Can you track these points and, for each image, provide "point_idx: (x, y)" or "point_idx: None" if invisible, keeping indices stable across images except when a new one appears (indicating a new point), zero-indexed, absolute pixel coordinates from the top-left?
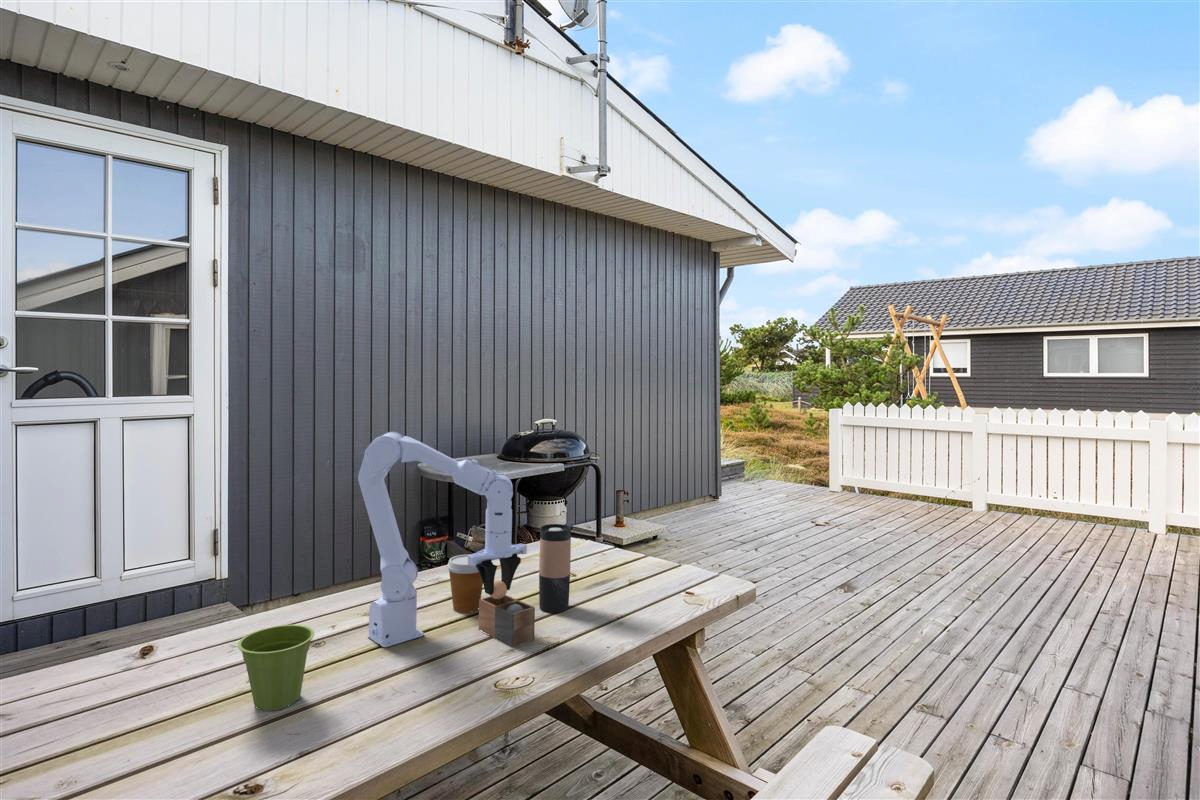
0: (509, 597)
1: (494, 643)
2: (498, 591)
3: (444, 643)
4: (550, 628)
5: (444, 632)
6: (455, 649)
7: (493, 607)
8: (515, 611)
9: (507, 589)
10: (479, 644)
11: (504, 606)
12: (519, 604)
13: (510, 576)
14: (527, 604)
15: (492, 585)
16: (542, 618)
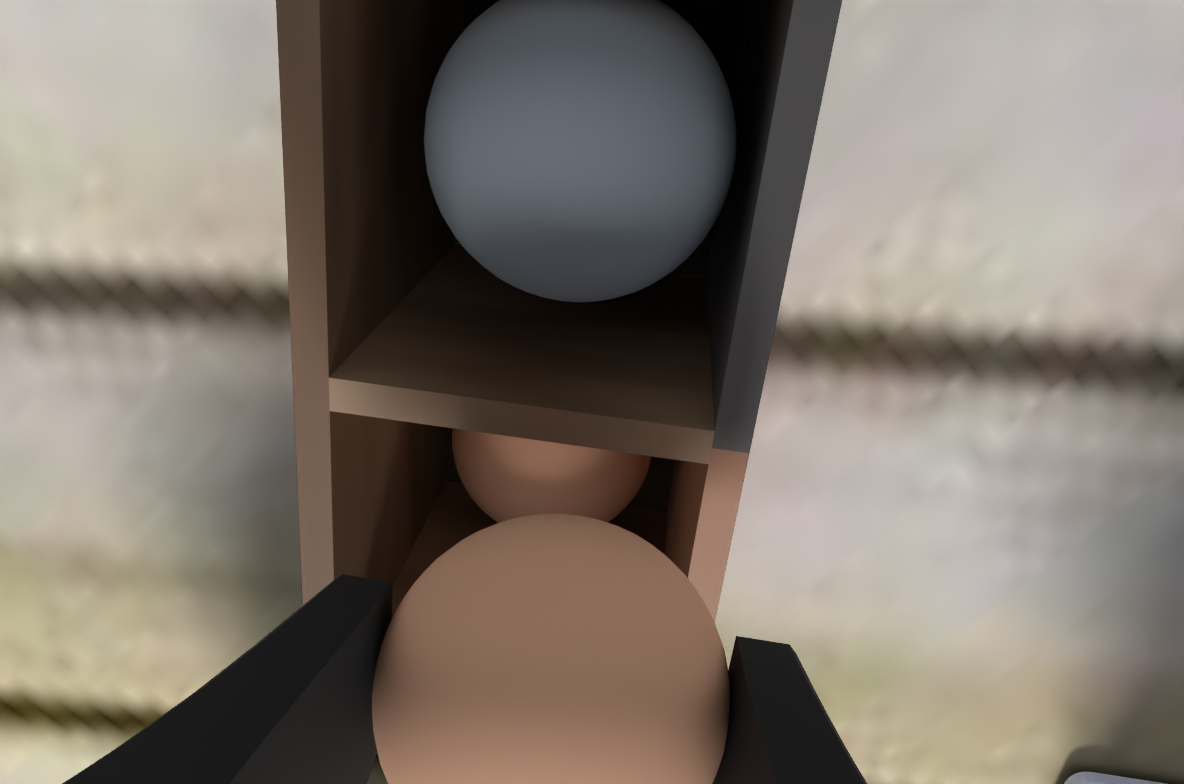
0: (324, 546)
1: (819, 204)
2: (667, 602)
3: (1102, 560)
4: (108, 12)
5: (907, 704)
6: (1166, 397)
7: (741, 479)
8: (666, 48)
9: (385, 593)
10: (933, 304)
11: (580, 398)
12: (341, 293)
13: (230, 762)
14: (288, 122)
15: (814, 769)
16: (34, 276)
